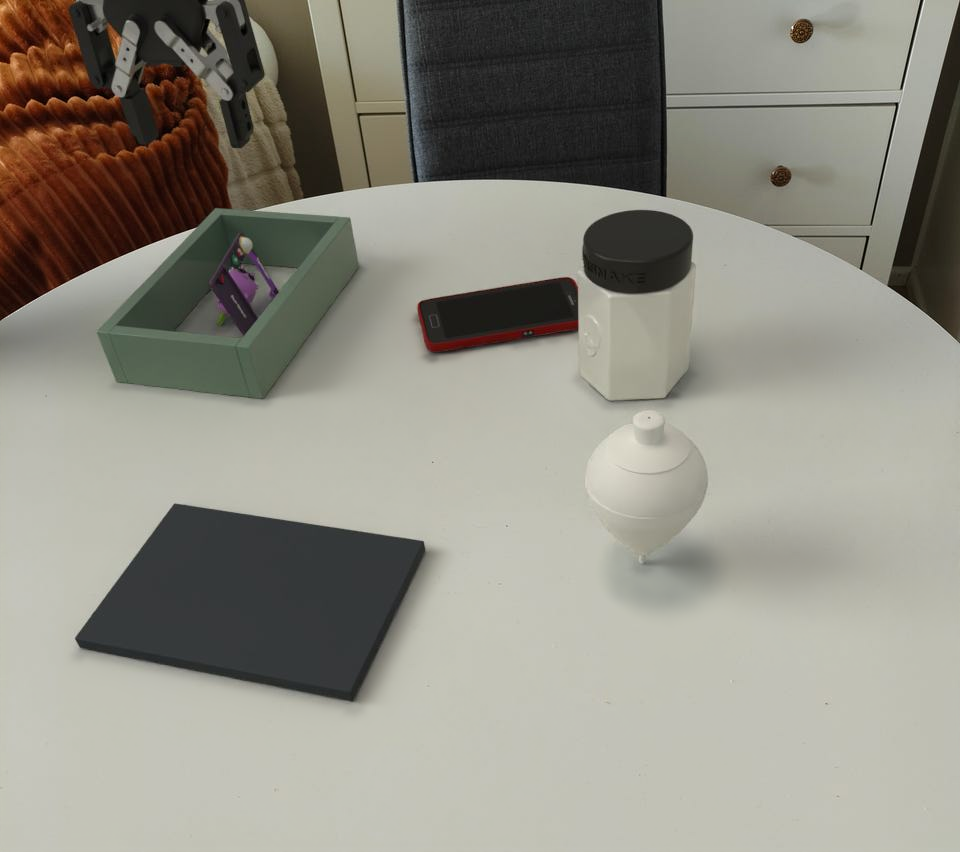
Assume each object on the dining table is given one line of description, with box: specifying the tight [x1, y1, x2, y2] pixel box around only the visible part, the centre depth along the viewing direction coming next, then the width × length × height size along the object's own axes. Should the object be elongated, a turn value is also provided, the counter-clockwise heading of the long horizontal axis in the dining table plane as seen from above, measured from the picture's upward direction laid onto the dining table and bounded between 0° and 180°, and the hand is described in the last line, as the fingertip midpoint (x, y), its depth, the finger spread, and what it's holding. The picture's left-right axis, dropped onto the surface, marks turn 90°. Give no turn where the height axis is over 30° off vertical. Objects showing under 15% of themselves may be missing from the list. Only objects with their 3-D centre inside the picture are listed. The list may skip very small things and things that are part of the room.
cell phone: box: [416, 276, 578, 353], centre depth 92 cm, size 8×15×1 cm, turn 100°
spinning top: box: [584, 409, 709, 565], centre depth 66 cm, size 8×8×12 cm
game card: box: [209, 232, 280, 337], centre depth 94 cm, size 7×5×9 cm
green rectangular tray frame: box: [95, 207, 360, 400], centre depth 94 cm, size 14×22×5 cm, turn 163°
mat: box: [74, 502, 426, 702], centre depth 71 cm, size 20×14×1 cm
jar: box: [577, 209, 697, 402], centre depth 81 cm, size 9×8×12 cm
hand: (194, 142), depth 84 cm, fingers open, 8 cm apart
